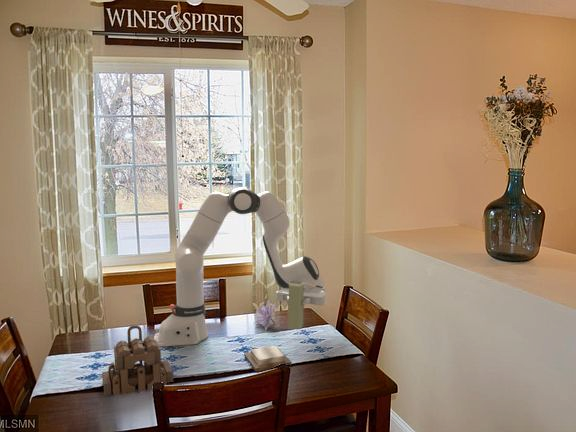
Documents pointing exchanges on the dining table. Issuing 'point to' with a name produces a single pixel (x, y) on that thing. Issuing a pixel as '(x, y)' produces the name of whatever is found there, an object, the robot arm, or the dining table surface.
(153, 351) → the wooden puzzle
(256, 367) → the plinth
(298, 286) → the olive pillar
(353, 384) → the dining table surface
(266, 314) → the water lily
